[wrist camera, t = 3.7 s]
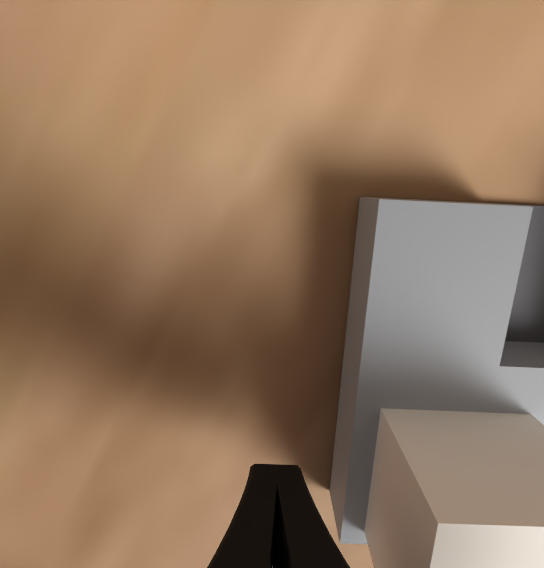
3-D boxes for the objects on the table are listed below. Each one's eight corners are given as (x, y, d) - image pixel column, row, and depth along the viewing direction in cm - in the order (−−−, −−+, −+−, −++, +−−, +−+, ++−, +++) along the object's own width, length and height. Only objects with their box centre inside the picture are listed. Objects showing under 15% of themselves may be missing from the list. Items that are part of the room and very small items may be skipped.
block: (364, 531, 12) (407, 687, 9) (380, 408, 11) (438, 523, 8) (501, 536, 13) (604, 692, 9) (530, 414, 11) (664, 530, 8)
